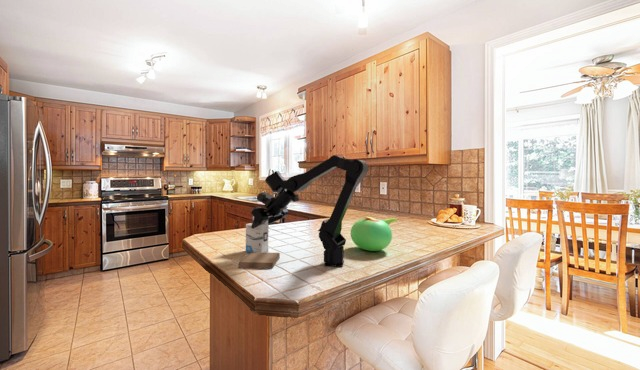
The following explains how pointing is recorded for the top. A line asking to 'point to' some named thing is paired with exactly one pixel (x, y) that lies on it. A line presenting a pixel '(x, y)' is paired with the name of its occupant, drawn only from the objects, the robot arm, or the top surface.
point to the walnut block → (259, 260)
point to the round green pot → (372, 233)
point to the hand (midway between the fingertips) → (259, 225)
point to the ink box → (257, 238)
